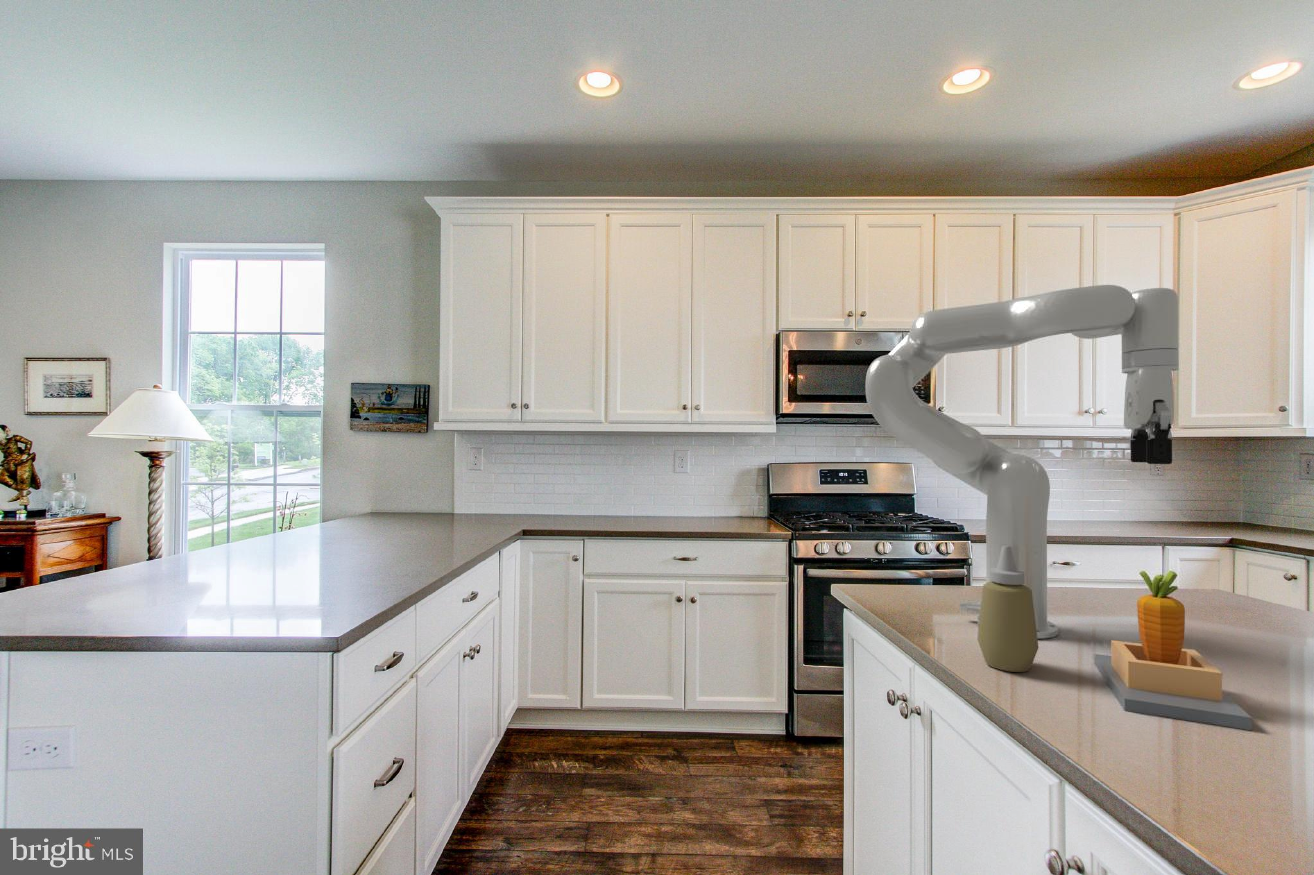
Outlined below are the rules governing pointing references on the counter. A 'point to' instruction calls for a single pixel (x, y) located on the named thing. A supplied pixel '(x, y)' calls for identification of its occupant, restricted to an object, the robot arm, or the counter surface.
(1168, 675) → the socket block
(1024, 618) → the squeeze bottle
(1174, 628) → the carrot
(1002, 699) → the counter surface
